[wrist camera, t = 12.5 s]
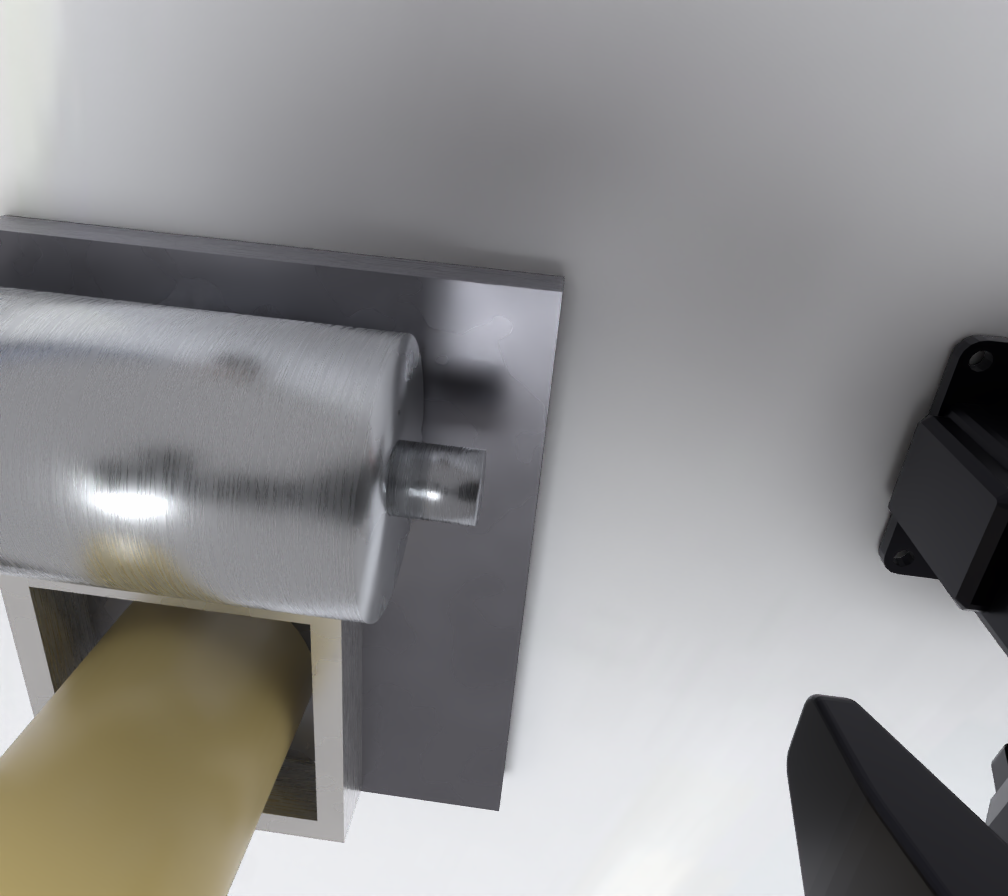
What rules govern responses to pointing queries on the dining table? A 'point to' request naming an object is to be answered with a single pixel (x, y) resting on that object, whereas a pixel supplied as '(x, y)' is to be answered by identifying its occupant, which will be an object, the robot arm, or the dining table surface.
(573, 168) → the dining table surface
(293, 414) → the motor mount
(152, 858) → the bottle
